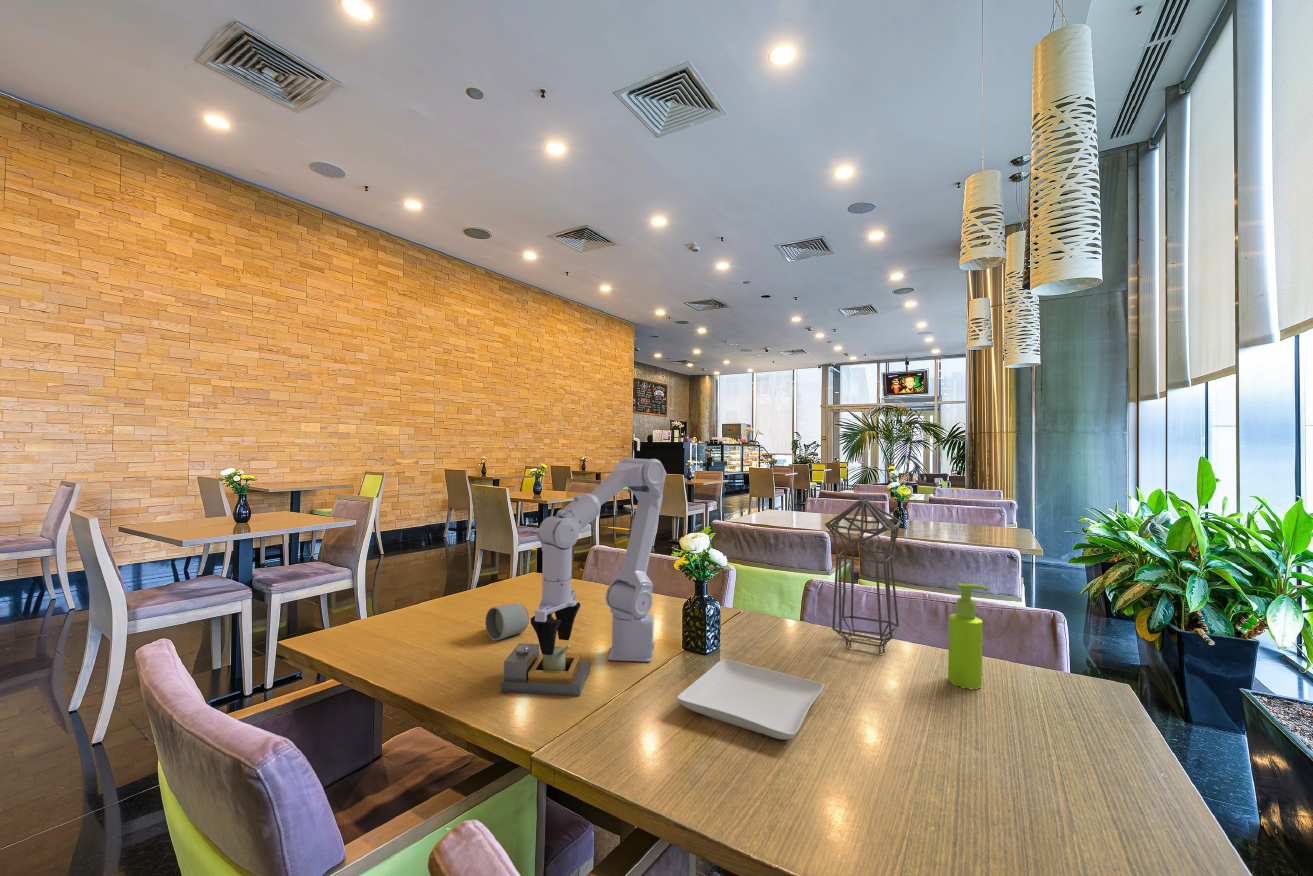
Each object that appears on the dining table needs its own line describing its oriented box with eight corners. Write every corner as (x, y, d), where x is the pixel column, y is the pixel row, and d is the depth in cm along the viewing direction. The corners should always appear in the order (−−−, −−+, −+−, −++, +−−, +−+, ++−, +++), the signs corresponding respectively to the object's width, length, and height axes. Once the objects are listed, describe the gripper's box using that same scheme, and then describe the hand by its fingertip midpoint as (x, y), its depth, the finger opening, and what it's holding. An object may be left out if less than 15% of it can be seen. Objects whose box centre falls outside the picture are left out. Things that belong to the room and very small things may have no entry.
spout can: (550, 674, 108) (551, 637, 108) (575, 680, 105) (575, 641, 105) (537, 683, 103) (538, 644, 103) (563, 689, 101) (564, 649, 101)
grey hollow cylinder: (531, 634, 129) (531, 603, 130) (502, 644, 123) (503, 611, 123) (505, 625, 136) (505, 595, 136) (476, 634, 130) (477, 602, 130)
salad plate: (825, 699, 100) (825, 681, 100) (794, 755, 82) (794, 733, 82) (722, 672, 111) (722, 656, 111) (673, 717, 92) (674, 697, 92)
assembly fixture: (589, 670, 110) (590, 638, 110) (579, 696, 99) (580, 660, 99) (518, 667, 110) (519, 635, 110) (500, 692, 99) (501, 657, 99)
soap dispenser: (992, 691, 103) (993, 589, 104) (953, 687, 105) (955, 587, 105) (980, 678, 109) (981, 581, 109) (944, 675, 111) (945, 579, 111)
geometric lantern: (896, 666, 115) (894, 505, 115) (823, 651, 123) (821, 501, 123) (905, 642, 128) (903, 498, 129) (838, 630, 137) (837, 495, 137)
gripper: (559, 589, 97) (558, 663, 97) (589, 570, 111) (588, 635, 111) (525, 586, 98) (524, 659, 98) (558, 568, 112) (557, 632, 112)
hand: (556, 646), depth 105 cm, fingers open, 7 cm apart
